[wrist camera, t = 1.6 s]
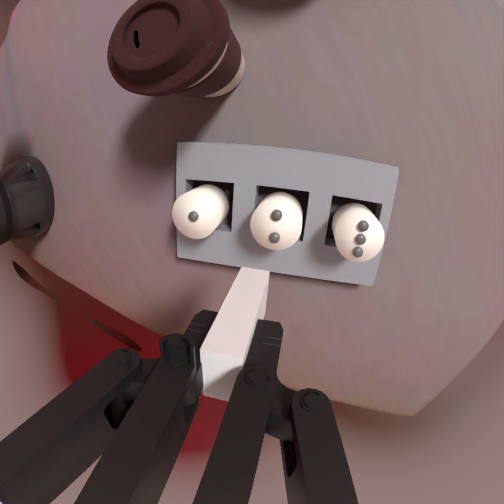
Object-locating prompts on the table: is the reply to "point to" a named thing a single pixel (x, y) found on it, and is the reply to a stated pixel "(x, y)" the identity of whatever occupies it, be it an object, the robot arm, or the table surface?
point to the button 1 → (200, 211)
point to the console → (289, 177)
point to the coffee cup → (175, 49)
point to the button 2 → (277, 221)
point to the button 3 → (357, 232)
